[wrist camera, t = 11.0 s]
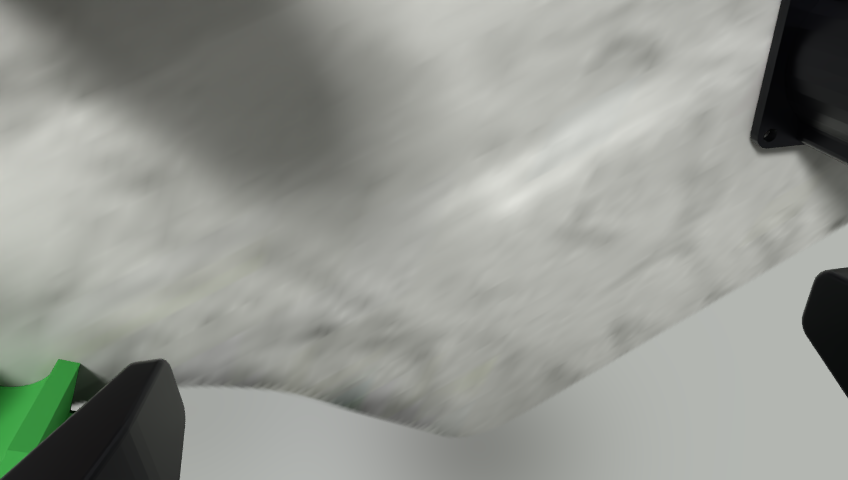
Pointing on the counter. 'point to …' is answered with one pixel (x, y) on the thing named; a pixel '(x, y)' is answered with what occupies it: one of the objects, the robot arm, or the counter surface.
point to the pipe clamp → (34, 412)
